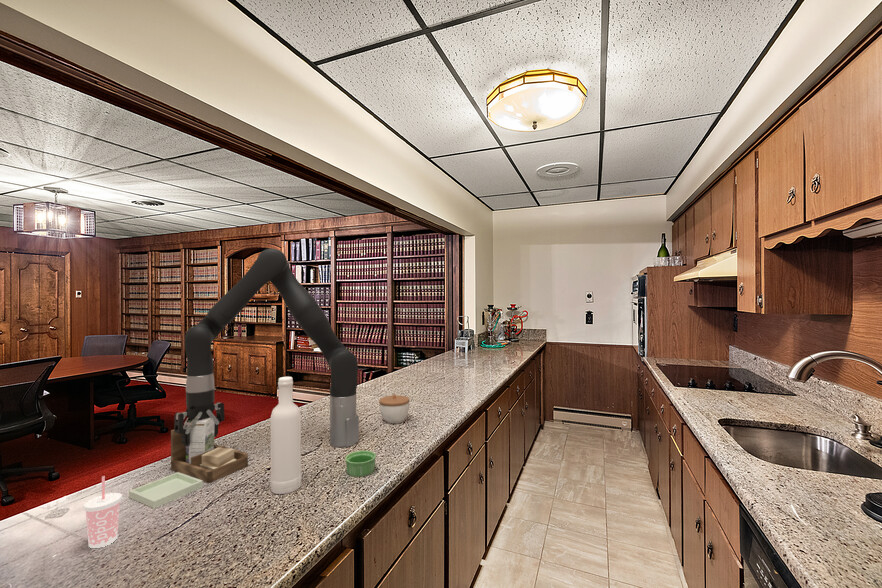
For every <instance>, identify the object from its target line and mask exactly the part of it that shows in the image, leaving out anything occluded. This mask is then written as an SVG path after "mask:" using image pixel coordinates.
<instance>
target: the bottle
mask: <svg viewBox="0 0 882 588" xmlns="http://www.w3.org/2000/svg"><path fill="white" fill-rule="evenodd" d="M277 386H278V403H277V405H276V406H275V407H273V408H272V411H271V413H270V414H271V415H270V421H269V422H270V428H269V429H270V479H269V480H270V486H269V487H270V492H271V493H273V494H276V495H286V494H291V493H293V492H295V491H297V490H298V489H300V487H301V486H302V424H301V423H302V420H301V419H302V416H301V411H300V408H299V406H298V405H297V404H296V403H294V401H293V400H294V399H293V392H294V391H293V386H294V380H293V377H292V376H282V377H279V378H278V382H277Z"/></svg>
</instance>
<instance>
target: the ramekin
mask: <svg viewBox="0 0 882 588" xmlns="http://www.w3.org/2000/svg"><path fill="white" fill-rule="evenodd" d="M376 457H377V455H376V453H375V452H373V451H371V450H357V451H353V452H350V453H348V454H347V455H346V456H345V458H344V460H345V463H346V465H345V466H346V472H347V474H348V475H349V476H351V477H355V478H357V477H358V478H359V477H366V476H369V475H370V474H372V473H374V471H375V467H376V466H375V464H376Z"/></svg>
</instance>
